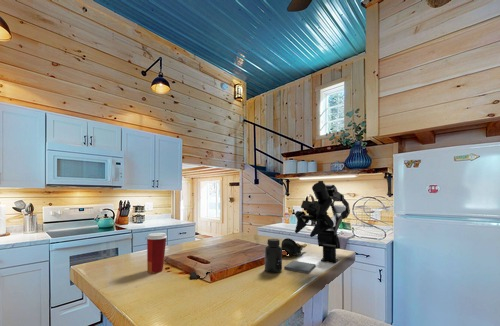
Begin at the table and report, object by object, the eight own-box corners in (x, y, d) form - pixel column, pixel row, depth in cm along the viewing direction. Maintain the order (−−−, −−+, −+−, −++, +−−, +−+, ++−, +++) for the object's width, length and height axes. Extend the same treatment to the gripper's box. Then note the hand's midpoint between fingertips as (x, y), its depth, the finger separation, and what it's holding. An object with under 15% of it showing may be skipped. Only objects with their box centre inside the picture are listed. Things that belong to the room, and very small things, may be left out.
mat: (293, 262, 108) (292, 260, 108) (315, 266, 103) (315, 264, 103) (284, 269, 100) (284, 266, 100) (308, 273, 94) (308, 270, 95)
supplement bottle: (282, 273, 94) (282, 241, 95) (265, 273, 94) (265, 241, 96) (281, 268, 101) (281, 238, 102) (264, 267, 101) (264, 237, 102)
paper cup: (168, 268, 99) (170, 232, 101) (160, 274, 92) (161, 236, 93) (150, 267, 100) (152, 232, 101) (140, 273, 92) (142, 235, 94)
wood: (210, 281, 87) (210, 272, 87) (188, 281, 87) (189, 272, 87) (215, 262, 109) (215, 255, 109) (198, 262, 109) (198, 255, 109)
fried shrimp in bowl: (273, 246, 119) (288, 229, 134) (284, 267, 118) (298, 248, 133) (288, 241, 114) (302, 225, 128) (300, 263, 113) (312, 243, 128)
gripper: (297, 193, 115) (278, 218, 109) (328, 194, 99) (308, 224, 92) (310, 209, 118) (292, 235, 112) (342, 213, 102) (323, 243, 96)
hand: (302, 234), depth 103 cm, fingers open, 9 cm apart
